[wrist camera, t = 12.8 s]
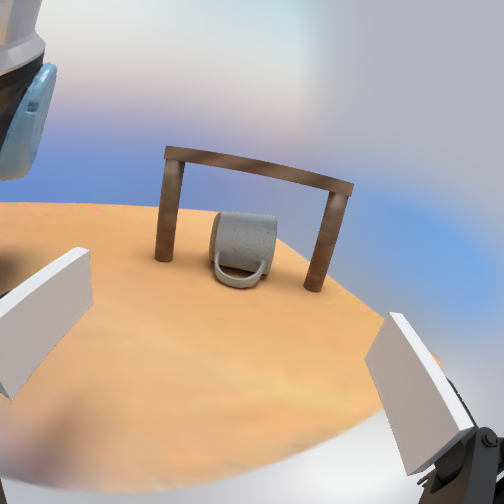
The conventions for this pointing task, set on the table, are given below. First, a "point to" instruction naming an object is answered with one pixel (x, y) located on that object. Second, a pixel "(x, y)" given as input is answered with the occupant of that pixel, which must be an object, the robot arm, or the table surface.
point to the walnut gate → (335, 186)
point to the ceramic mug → (242, 245)
